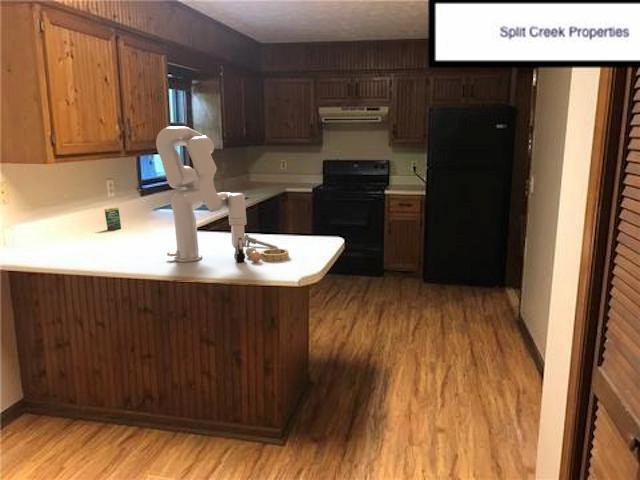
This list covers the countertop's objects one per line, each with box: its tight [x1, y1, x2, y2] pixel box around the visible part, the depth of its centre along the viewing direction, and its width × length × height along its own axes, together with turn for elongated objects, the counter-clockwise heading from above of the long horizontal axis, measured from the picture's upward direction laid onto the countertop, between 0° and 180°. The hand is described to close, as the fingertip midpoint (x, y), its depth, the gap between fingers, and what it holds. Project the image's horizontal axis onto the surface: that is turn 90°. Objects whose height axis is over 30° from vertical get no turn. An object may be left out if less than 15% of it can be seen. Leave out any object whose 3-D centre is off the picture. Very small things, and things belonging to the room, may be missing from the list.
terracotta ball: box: [249, 250, 262, 263], centre depth 229 cm, size 5×5×5 cm
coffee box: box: [104, 207, 122, 231], centre depth 317 cm, size 8×3×13 cm, turn 118°
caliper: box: [245, 233, 279, 249], centre depth 259 cm, size 20×1×6 cm, turn 63°
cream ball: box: [245, 246, 257, 258], centre depth 238 cm, size 5×5×5 cm
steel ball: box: [233, 252, 246, 262], centre depth 231 cm, size 5×5×5 cm
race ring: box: [260, 248, 290, 263], centre depth 236 cm, size 12×12×3 cm
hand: (240, 260), depth 231 cm, fingers closed on steel ball, 4 cm apart
